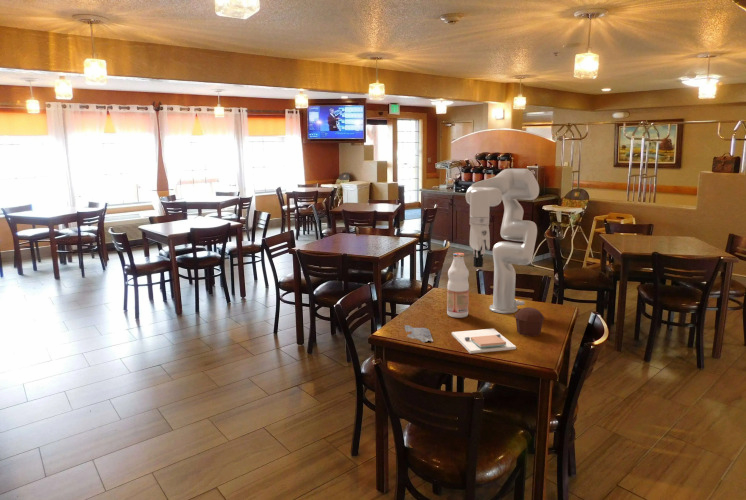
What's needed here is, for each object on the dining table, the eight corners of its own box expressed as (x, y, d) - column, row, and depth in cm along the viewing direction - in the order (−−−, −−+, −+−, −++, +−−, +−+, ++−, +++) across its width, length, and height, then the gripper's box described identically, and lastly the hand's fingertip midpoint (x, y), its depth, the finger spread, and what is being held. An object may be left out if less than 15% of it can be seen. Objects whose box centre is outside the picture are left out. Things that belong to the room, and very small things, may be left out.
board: (493, 330, 213) (493, 325, 213) (516, 349, 194) (516, 343, 193) (451, 334, 210) (451, 329, 209) (470, 353, 190) (470, 347, 190)
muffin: (508, 330, 214) (509, 306, 212) (530, 326, 218) (531, 303, 216) (527, 339, 203) (528, 314, 201) (550, 335, 208) (551, 311, 206)
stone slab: (402, 325, 219) (426, 323, 219) (403, 329, 219) (426, 327, 220) (409, 342, 201) (434, 339, 202) (409, 346, 201) (434, 344, 202)
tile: (506, 342, 193) (506, 345, 193) (495, 334, 202) (495, 337, 202) (480, 344, 191) (480, 347, 191) (470, 337, 200) (470, 340, 200)
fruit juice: (443, 316, 232) (444, 254, 227) (451, 310, 240) (452, 250, 235) (463, 319, 228) (464, 256, 222) (471, 313, 235) (472, 252, 230)
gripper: (496, 223, 197) (494, 270, 201) (480, 218, 212) (479, 262, 215) (477, 224, 196) (476, 271, 200) (463, 218, 210) (462, 263, 214)
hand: (478, 266), depth 207 cm, fingers closed
